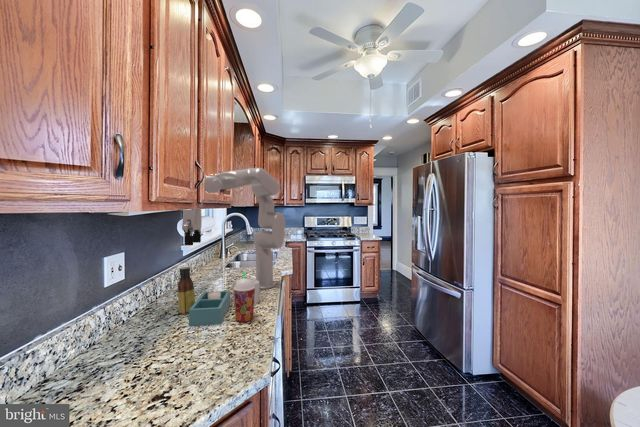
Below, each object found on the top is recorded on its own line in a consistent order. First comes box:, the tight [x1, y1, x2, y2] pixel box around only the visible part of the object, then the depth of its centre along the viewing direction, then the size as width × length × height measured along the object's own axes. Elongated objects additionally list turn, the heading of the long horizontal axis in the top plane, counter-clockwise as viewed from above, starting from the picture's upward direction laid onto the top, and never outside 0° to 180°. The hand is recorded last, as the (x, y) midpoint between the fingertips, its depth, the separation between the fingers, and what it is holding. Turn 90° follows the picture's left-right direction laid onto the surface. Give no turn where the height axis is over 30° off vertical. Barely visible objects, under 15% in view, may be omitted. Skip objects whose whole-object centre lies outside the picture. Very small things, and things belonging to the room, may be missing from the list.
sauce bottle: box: [177, 266, 196, 315], centre depth 115 cm, size 7×6×20 cm
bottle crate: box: [188, 290, 231, 327], centre depth 113 cm, size 22×11×7 cm, turn 9°
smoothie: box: [232, 270, 255, 323], centre depth 108 cm, size 8×8×20 cm
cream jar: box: [208, 290, 221, 299], centre depth 118 cm, size 5×5×7 cm
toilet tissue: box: [232, 278, 260, 305], centre depth 128 cm, size 11×12×10 cm
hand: (192, 243), depth 116 cm, fingers open, 9 cm apart
